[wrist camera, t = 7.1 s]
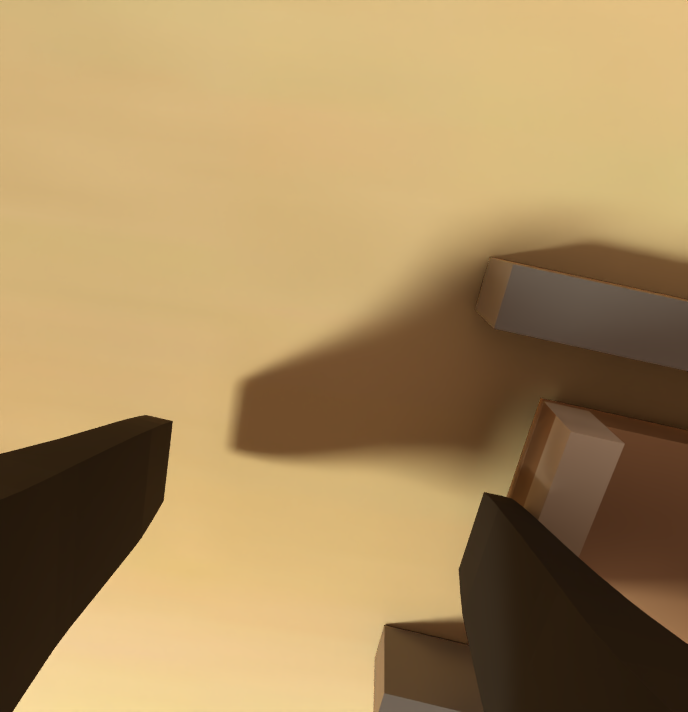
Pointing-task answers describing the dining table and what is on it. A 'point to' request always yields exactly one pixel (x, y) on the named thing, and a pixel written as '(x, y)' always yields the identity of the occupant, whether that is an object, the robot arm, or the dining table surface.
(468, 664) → the tray
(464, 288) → the dining table surface
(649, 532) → the brown slab
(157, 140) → the dining table surface
